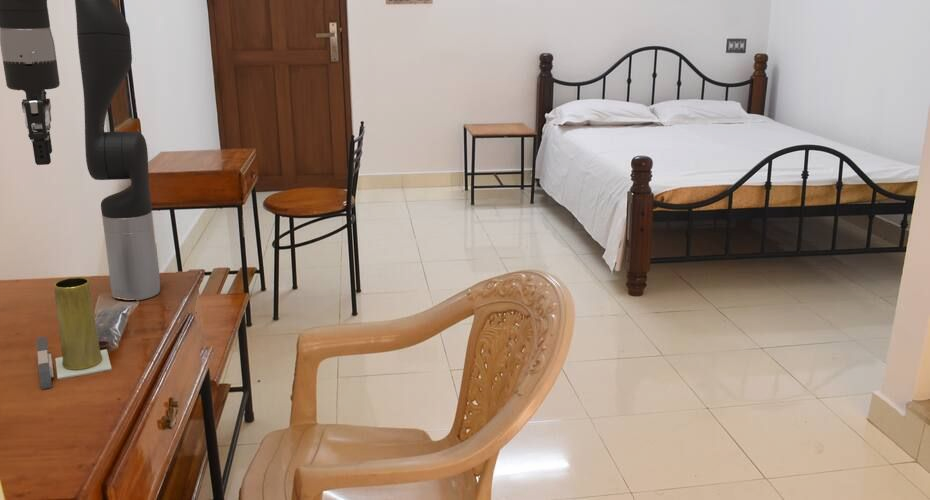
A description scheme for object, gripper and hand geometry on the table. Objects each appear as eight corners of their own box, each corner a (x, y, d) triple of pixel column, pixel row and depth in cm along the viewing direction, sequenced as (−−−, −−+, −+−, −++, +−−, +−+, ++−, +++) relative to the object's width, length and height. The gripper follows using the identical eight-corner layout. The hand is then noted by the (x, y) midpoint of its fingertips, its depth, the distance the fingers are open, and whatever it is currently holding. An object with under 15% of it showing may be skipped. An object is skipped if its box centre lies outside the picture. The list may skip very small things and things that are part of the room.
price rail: (39, 354, 137) (36, 336, 136) (51, 352, 138) (48, 334, 137) (41, 389, 125) (38, 370, 124) (54, 387, 126) (52, 368, 125)
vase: (53, 367, 131) (41, 286, 127) (79, 352, 137) (68, 274, 133) (86, 372, 130) (75, 290, 126) (110, 356, 136) (100, 277, 131)
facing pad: (55, 359, 135) (55, 358, 135) (106, 350, 139) (106, 349, 138) (57, 379, 128) (57, 378, 128) (111, 369, 132) (111, 368, 132)
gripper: (5, 53, 130) (21, 152, 135) (-2, 62, 118) (15, 169, 123) (57, 53, 133) (70, 149, 139) (55, 61, 121) (69, 166, 126)
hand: (44, 158), depth 131 cm, fingers open, 8 cm apart
